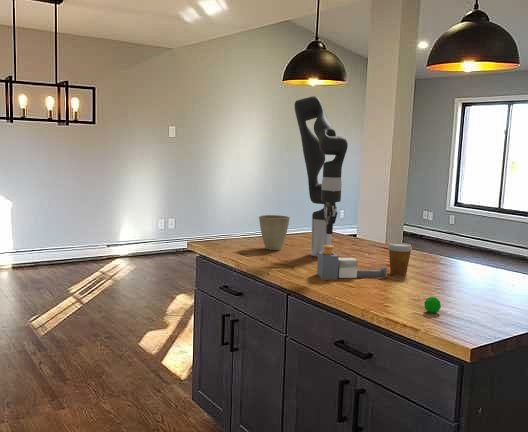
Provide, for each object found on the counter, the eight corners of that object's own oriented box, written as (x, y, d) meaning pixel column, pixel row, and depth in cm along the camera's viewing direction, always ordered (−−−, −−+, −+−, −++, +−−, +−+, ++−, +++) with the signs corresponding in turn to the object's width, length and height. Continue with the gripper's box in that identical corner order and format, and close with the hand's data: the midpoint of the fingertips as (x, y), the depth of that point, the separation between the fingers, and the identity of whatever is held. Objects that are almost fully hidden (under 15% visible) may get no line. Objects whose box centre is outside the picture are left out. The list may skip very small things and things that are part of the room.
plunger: (321, 256, 221) (321, 244, 220) (332, 256, 221) (332, 245, 221) (323, 258, 216) (324, 246, 216) (334, 258, 217) (335, 246, 216)
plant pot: (294, 248, 279) (295, 216, 277) (278, 253, 266) (279, 219, 264) (268, 245, 287) (269, 214, 285) (252, 249, 274) (253, 216, 272)
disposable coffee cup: (411, 272, 233) (413, 243, 231) (409, 277, 224) (411, 247, 222) (387, 270, 236) (389, 241, 234) (384, 274, 227) (386, 245, 225)
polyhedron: (423, 309, 178) (424, 294, 178) (440, 311, 177) (441, 296, 176) (423, 313, 174) (424, 298, 173) (440, 315, 172) (441, 300, 172)
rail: (333, 275, 222) (334, 265, 221) (383, 276, 224) (383, 266, 224) (335, 277, 219) (335, 267, 218) (385, 277, 221) (386, 267, 221)
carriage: (335, 274, 223) (336, 257, 222) (352, 274, 224) (353, 257, 223) (338, 277, 218) (339, 260, 217) (356, 277, 219) (357, 260, 218)
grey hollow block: (317, 273, 224) (317, 251, 223) (331, 274, 225) (332, 251, 224) (322, 279, 215) (323, 255, 214) (337, 279, 216) (338, 256, 215)
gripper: (318, 187, 222) (316, 231, 224) (325, 190, 209) (323, 236, 211) (336, 188, 223) (334, 231, 225) (345, 190, 210) (343, 236, 212)
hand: (329, 233), depth 218 cm, fingers closed
